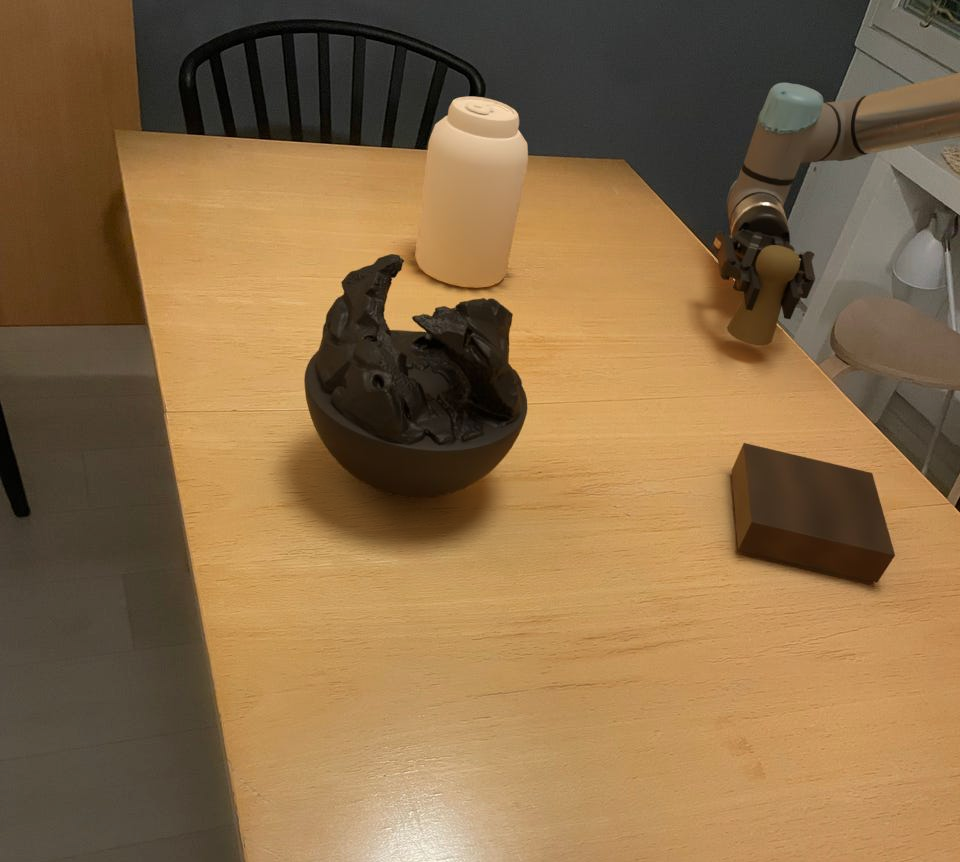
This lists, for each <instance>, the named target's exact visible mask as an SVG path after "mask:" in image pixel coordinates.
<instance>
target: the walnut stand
mask: <svg viewBox="0 0 960 862" xmlns="http://www.w3.org/2000/svg"><path fill="white" fill-rule="evenodd" d="M731 481H732V494H733V495H732V496H733V505H734V506H733V507H734V519H735V531H736V541H737V543H736V544H737V550H738V551H739V552H740V553H741V554H740V555H741V556H744V557H750V558H753V559H758V560H762V561H766V562H771V563H775V564H779V565H784V566H788V567H793V568H797V569H800V570H805V571H808V572H809V571H810V572H814V573H818V574H823V575H827V576H830V577H835V578H840V579H844V580H848V581H852V582H856V583H861V584H866V585H869V586H871V585H872V583H877V584H878V583H879V581H880V580H881V578H882V577H883V575H884V573H885V572H886V570H887V568H888V567H889V566H890V564H891V563H892V561H893V560H894V558H895V556H896V552H895V549H894V546H893V542H892V538H891V535H890V532H889V528H888V524H887V521H886V517H885V514H884V510H883V507H882V503H881V499H880V495H879V492H878V489H877V485H876V481H875V478H874V475H873V472H870V471H866V470H862V469H857V468H853V467H849V466H845V465H840V464H836V463H832V462H828V461H823V460H819V459H815V458H811V457H807V456H802V455H798V454H793V453H788V452H784V451H780V450H776V449H772V448H767V447H763V446H759V445H754V444H751V443H746V442H743V444H742V446H741V448H740V450H739V453H738V455H737V457H736V459H735V462H734V464H733V466H732V468H731Z"/></svg>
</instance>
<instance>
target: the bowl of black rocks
mask: <svg viewBox="0 0 960 862" xmlns="http://www.w3.org/2000/svg"><path fill="white" fill-rule="evenodd" d="M404 262H405V259H404V258H402V257H401V256H400V255H399V254H396V253H395V254H394V253H390V254H387V255H384V256H380V257H378V258H377V259H376V260H375V262H374V263H372V264H368V265H366V266H362V267H361V268H358V269H356V270H352V271H350V272H349V273H348V274H347V275H346V276H345V277H344V278H343V280H342V281H341V282H340V283H341V288H342V290H343V294H342V295H340V296H338V297H337V298H336V299H335V300H334V301H333V303H332V304H331V306H330V307H329V309H328V311H327V312H326V315H325V322H324V324H323V326H322V334H321V335H322V336H321V337H322V338H321V341H320V344H319V347H318V350H316V352H315V353H314V354H313V355H312V356H311V358H310V359H309V361H308V363H307V365H306V367H305V370H304V371H305V372H304V377H303V378H304V379H303V381H304V382H303V383H304V394H305V401H306V404H307V408H308V412H309V415H310V419H311V422H312V424H313V426H314V429H315V431H316V433H317V436H318V437H319V439H320V441H321V442H322V444H323V445H324V447H325V448H326V450H327V451H328V453H329V454H330V455H331V456H332V458H333V459H334V460H335V461H336V462H337V463H338V464H339V465H340V467H341V468H343V469H344V470H345V471H347V472H348V473H349V474H350V475H351V476H353V477H354V478H355V479H357V480H358V481H360V482H362V483H363V484H364V485H367V486H368V487H371V488H373V489H375V490H377V491H379V492H383V493H386V494H389V495H393V496H397V497H402V498H408V499H409V498H411V499H431V498H437V497H442V496H446V495H450V494H454V493H456V492H459V491H462V490H463V489H466V488H468V487H471V486H472V485H473V484H475V483H477V482H479V481H481V480H482V479H483V478H484V477H486V476H487V475H488V474H490V473H491V472H492V471H493V470H494V469H495V468H496V467H498V465H499V464H500V463H501V462H502V461H503V460H504V458H505V457H506V456H507V454H509V452H510V451H511V449H512V448H513V447H514V445H515V444H516V441H517V439H518V437H519V435H520V434H521V431H522V428H523V426H524V424H525V421H526V417H527V414H528V397H527V394H526V391H525V389H524V387H523V382H522V381H523V380H522V378H521V377H520V375H519V373H518V371H517V370H515V369H514V368H513V367H512V366H511V364H510V363H509V362H510V361H509V360H510V359H509V358H510V331H511V327H512V323H513V316H514V313H513V312H512V311H510V310H509V309H508V308H506V306H504V305H503V304H501V302H499V301H498V300H497V299H495V298H487V299H486V298H485V297H482V298H476V299H475V298H474V299H470V300H465V301H459V303H458V304H457V303H456V305H455V306H454V307H452V308H451V307H448V306H446V305H443V306H437V307H435V308H434V311H433V313H432V315H430V314H428V313H427V314H425V313H422V314H419V315H413V316H411V320H412V321H413V322H414V323H415V324H417V326H418V327H420V328H421V329H422V330H424V331H418V330H417V331H415V330H404V329H403V330H402V329H401V330H400V329H390V327H389V325H388V324H387V320H386V318H385V310H386V303H387V299H388V294H389V291H390V288H391V286H392V281H393V279H395V278H396V277H397V275H398V274H399V273H400V272H401V271H402V269H403V264H404Z"/></svg>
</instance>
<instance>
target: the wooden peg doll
mask: <svg viewBox="0 0 960 862" xmlns="http://www.w3.org/2000/svg"><path fill="white" fill-rule="evenodd" d="M796 253H797V252H796V251H795V252H794V251H793V250H791V249H789V248H786V247H783V246H778V245H770V246H767V247H765V248H764V249H762V250H761V252H760V253H759V255H758V257H757V260H756V270H757V273H758V277H759V283H760V292H759V294H758V297H757V299H756V302H755V304H754V307H753V309H752V311H751V310H747V309H746V305H745V298H744V296H743V297H742V298H741V301H740V303H739V304H738V306H737V308H736V309H735V312H734V313H733V316H732V318H731V319H730V321H729V323H728V325H727V326H726V330H727V332H728V333H729V335H730V336H731V337H733V338H735V340H738V341H739V342H742V343H744V344H747V345H753V346H758V347H759V346H761V347H763V346H768V345H770V344H772V342H773V339H774V336H775V331H776V329H777V324H778V321H779V317H780V314H781V310H782V305H781V303H782V300H783V297H784V294H785V291H786V288H787V285H788V282H789V281H790V280H792V279H793V278H794V277H795V275H796V274H797V272H798V269H799V266H800V258H799V256H798V255H797V254H798V253H797V254H796Z"/></svg>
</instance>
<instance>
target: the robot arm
mask: <svg viewBox="0 0 960 862" xmlns="http://www.w3.org/2000/svg"><path fill="white" fill-rule="evenodd" d="M956 138H960V72H955V73H951V74H947V75H943V76H939V77H934V78H931V79H926V80H922V81H918V82H914V83H911V84H906V85H902V86H898V87H894V88H890V89H886V90H882V91H878V92H874V93H871V94H867V95H861V96H857V97H853V98H848V99H845V100H839V101H829V102H828V101H827V102H825V101H824V97H823V95H822V94H821V93H820V92H818V91H817V90H815V89H813V88H811V87H808V86H805V85H802V84H798V83H790V82H778V83H776V84H774V85H773V86H772V87H771V88H770V90H769V91H768V94H767V97H766V99H765V101H764V104H763V107H762V108H761V110H760V112H759V114H758V117H757V122H756V125H755V128H754V131H753V134H752V137H751V140H750V142H749V146H748V149H747V151H746V154H745V158H744V161H743V164H742V167H741V168H740V171H739V174H738V176H737V179H735V181H734V182H733V183H732V184H731V186H730V189H729V191H728V193H727V194H728V195H727V199H726V205H725V206H726V215H727V218H728V224H729V230H730V235H729V234H728V233H727V232H726V231H725V230H718V231H717V232H716V235H715V239H714V241H713V244H712V247H711V251H712V252H713V254H715V256H716V258H717V264H718V269H719V276H720V278H721V280H725V281H729V280H730V279H734V282H733V284H732V286H731V287H732V289H733V290H734V291H737V292H742V293H743V297H744V298H745V305H746V309H747V310H751V311H752V309H753V307H754V304H755V302H756V299H757V297H758V294H759V292H760V283H759V277H758V273H757V270H756V260H757V257H758V255H759V253H760V252H761V250H762V249H764V248H765V247H767V246H770V245H778V246H783V247H786V248H789V249H791V250H793V251H794V252H795V253H796V254H797V255H798V256H799V258H800V266H799V269H798V272H797V274H796V275H795V277H794V278H793V279H792V280H790V281H789V282H788V285H787V288H786V291H785V294H784V297H783V300H782V303H781V305H782V307H781V310H782V314H783V319H786V320H791V318H792V317H793V314H794V312H795V309H796V306H797V305H798V304H799V303H800V300H801V299H808V296H809V295H810V293H811V291H812V288H813V286H814V283H815V281H816V276H815V271H814V266H813V260H814V257H815V253H814V252H812V251H809V250H808V251H807V250H806V251H805V252H799V253H797V252H796V249H795V248H794V246H793V245H792V244H791V233H790V228H789V225H788V219H787V216H786V212H785V209H784V205H785V203H786V200H787V198H788V195H789V192H790V190H791V187H792V185H793V183H794V181H795V178H796V175H797V174H798V170H799V168H800V165H801V164H807V163H809V164H810V163H818V162H833V161H837V162H844V161H850V160H854V159H856V158H860V157H862V156H867V155H869V154H875V153H881V152H886V151H891V150H897V149H903V148H907V147H913V146H918V145H919V146H920V145H924V144H930V143H934V142H940V141H945V140H951V139H956ZM737 262H738V263H737Z"/></svg>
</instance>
